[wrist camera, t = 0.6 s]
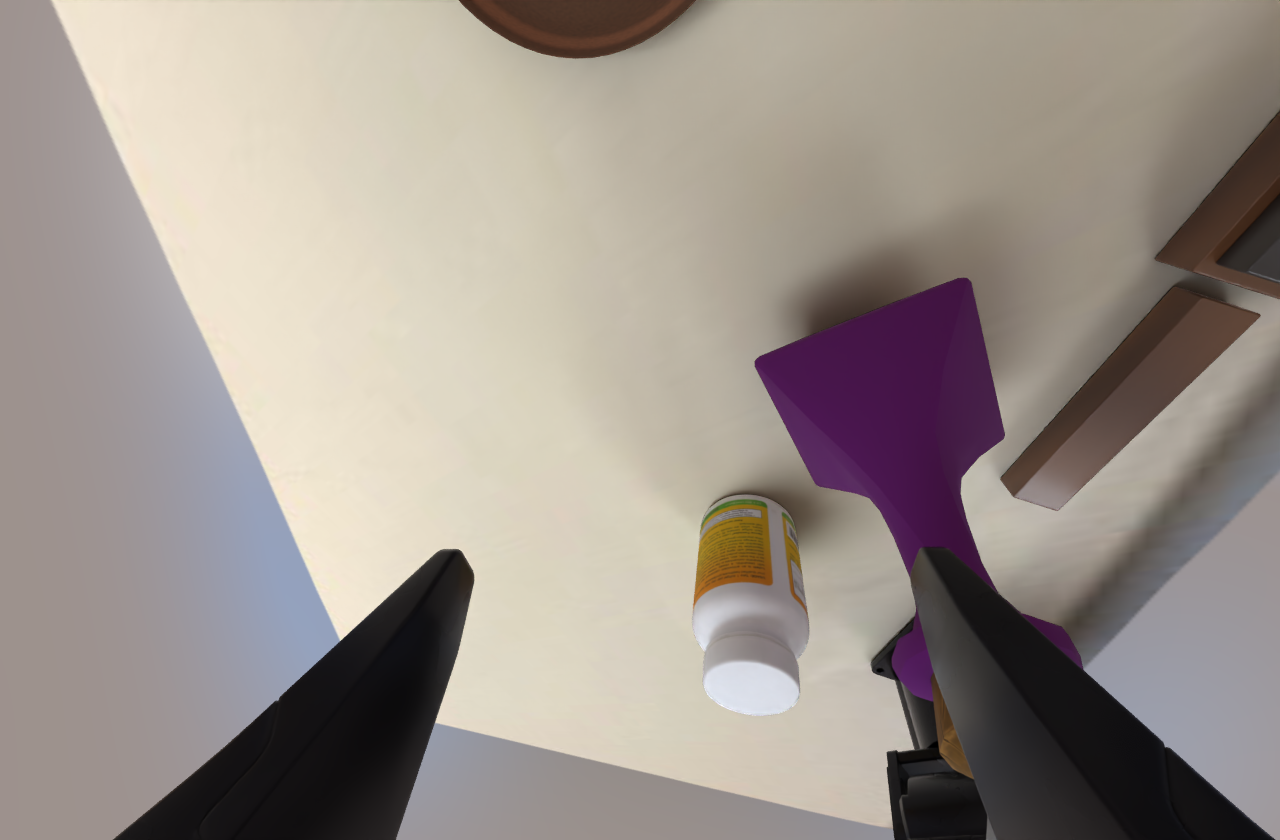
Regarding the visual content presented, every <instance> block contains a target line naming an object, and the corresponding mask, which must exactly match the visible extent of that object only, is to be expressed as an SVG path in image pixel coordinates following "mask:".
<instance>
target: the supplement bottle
mask: <svg viewBox="0 0 1280 840" xmlns="http://www.w3.org/2000/svg"><path fill="white" fill-rule="evenodd" d="M692 625H693V631H694V635H695V637H696V640H697V642H698V643H699V645H700V646H701V647H702V649H703V650H704V651H705V655H704V661H703V686H704V689H705V691H706V693H707V694H708V696H709V697H710V698H711V699H712V700H714V701H715V702H716V703H717V704H719V705H721V706H722V707H724V708H726V709H729V710H732V711H735V712H738V713H742V714H747V715H756V716H766V715H774V714H778V713H781V712H784V711H786V710H788V709H790V708H791V707H793V706H794V705H795V704H796V702H797V701H798V699H799V696H800V683H799V667H798V663H797V661H796V660H797V659H798V658H799V657H800V656H801V655H802V653H803V652H804V650H805V648H806V646H807V643H808V640H809V619H808V612H807V606H806V599H805V592H804V585H803V577H802V571H801V564H800V557H799V549H798V542H797V535H796V530H795V525H794V522H793V520H792V518H791V516H790V515H789V513H788V512H787V511H786V510H785V509H784V508H783V507H782V506H781V505H779V504H778V503H776V502H774V501H772V500H770V499H768V498H765V497H761V496H756V495H734V496H730V497H727V498H724V499H722V500H720V501H718V502H717V503H715V504H714V505H713V506H712V507H710V508H709V510H708V511H707V512H706V514H705V515H704V518H703V520H702V524H701V531H700V541H699V552H698V563H697V574H696V584H695V594H694V605H693V617H692Z"/></svg>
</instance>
